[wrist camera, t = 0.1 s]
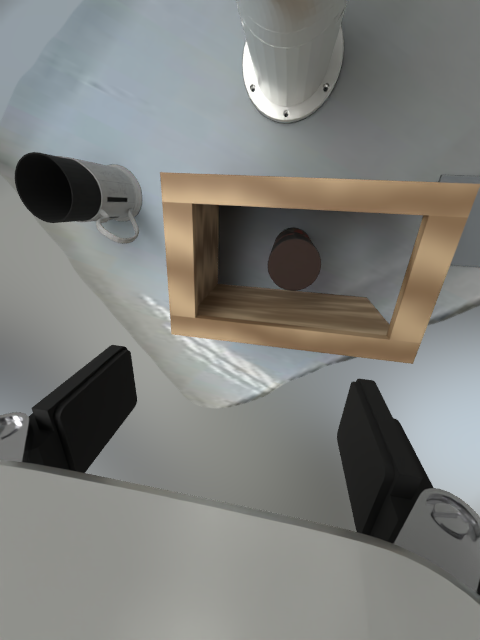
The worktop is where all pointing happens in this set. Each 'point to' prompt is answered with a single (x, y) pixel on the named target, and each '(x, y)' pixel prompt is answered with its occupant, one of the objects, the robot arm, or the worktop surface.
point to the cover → (296, 306)
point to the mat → (467, 227)
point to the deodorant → (293, 260)
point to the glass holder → (78, 191)
